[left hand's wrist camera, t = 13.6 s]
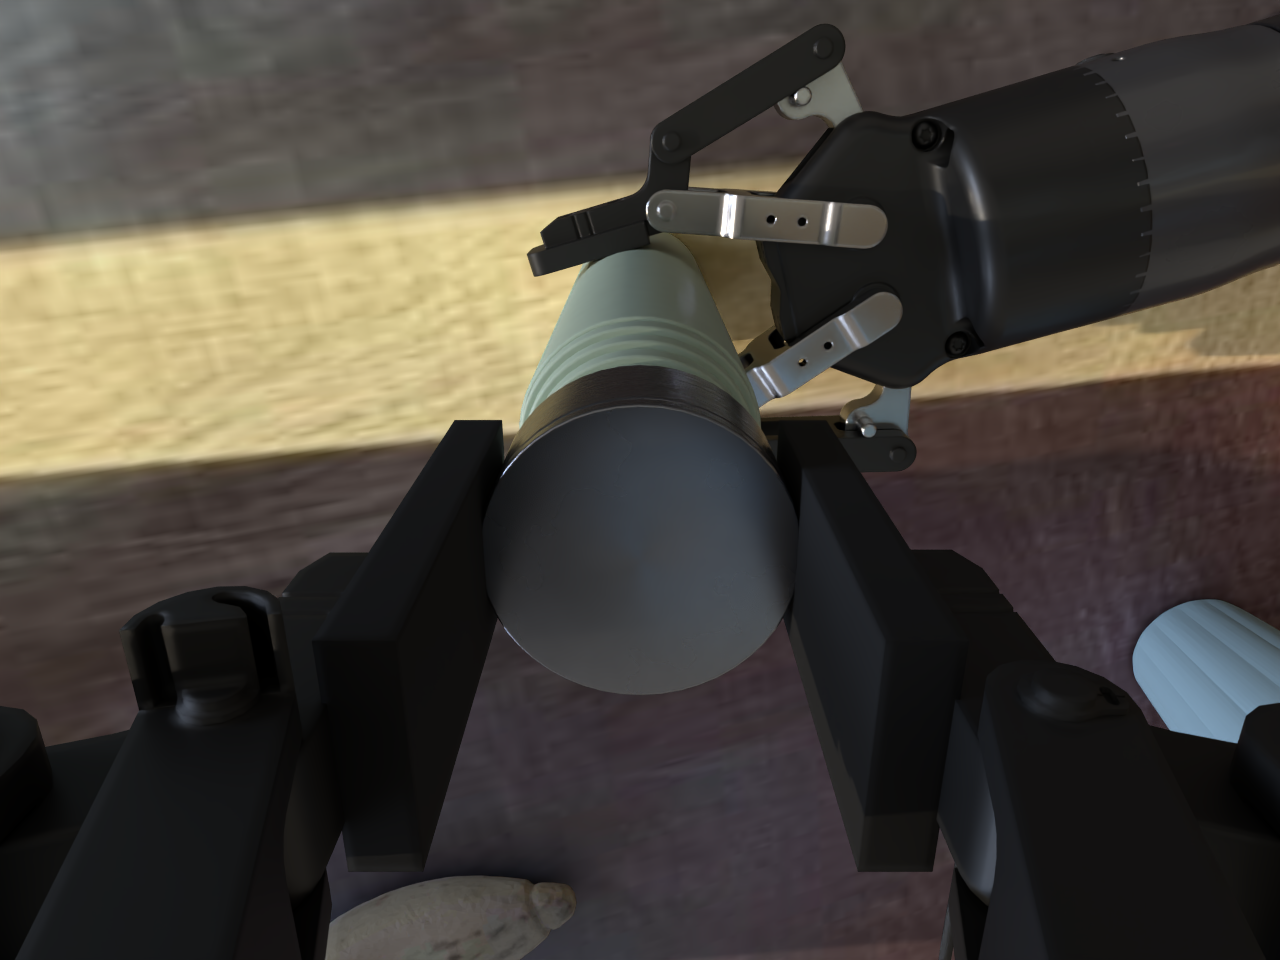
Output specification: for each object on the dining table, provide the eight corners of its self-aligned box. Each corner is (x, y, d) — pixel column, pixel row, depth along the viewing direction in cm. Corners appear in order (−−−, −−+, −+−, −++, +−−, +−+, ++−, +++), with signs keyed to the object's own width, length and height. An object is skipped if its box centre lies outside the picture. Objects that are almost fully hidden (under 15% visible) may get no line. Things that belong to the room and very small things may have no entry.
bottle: (653, 374, 35) (673, 734, 14) (553, 303, 34) (413, 578, 13) (727, 276, 34) (873, 512, 13) (625, 199, 32) (599, 315, 11)
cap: (837, 497, 14) (869, 558, 12) (642, 666, 15) (642, 747, 13) (638, 302, 13) (638, 332, 11) (443, 501, 14) (412, 562, 12)
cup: (1169, 750, 41) (1331, 936, 32) (1071, 655, 40) (1212, 822, 30) (1311, 650, 39) (1530, 816, 30) (1216, 544, 38) (1417, 685, 28)
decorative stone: (598, 913, 45) (595, 972, 42) (336, 993, 47) (314, 1055, 44) (549, 827, 43) (543, 882, 40) (277, 916, 45) (250, 974, 42)
